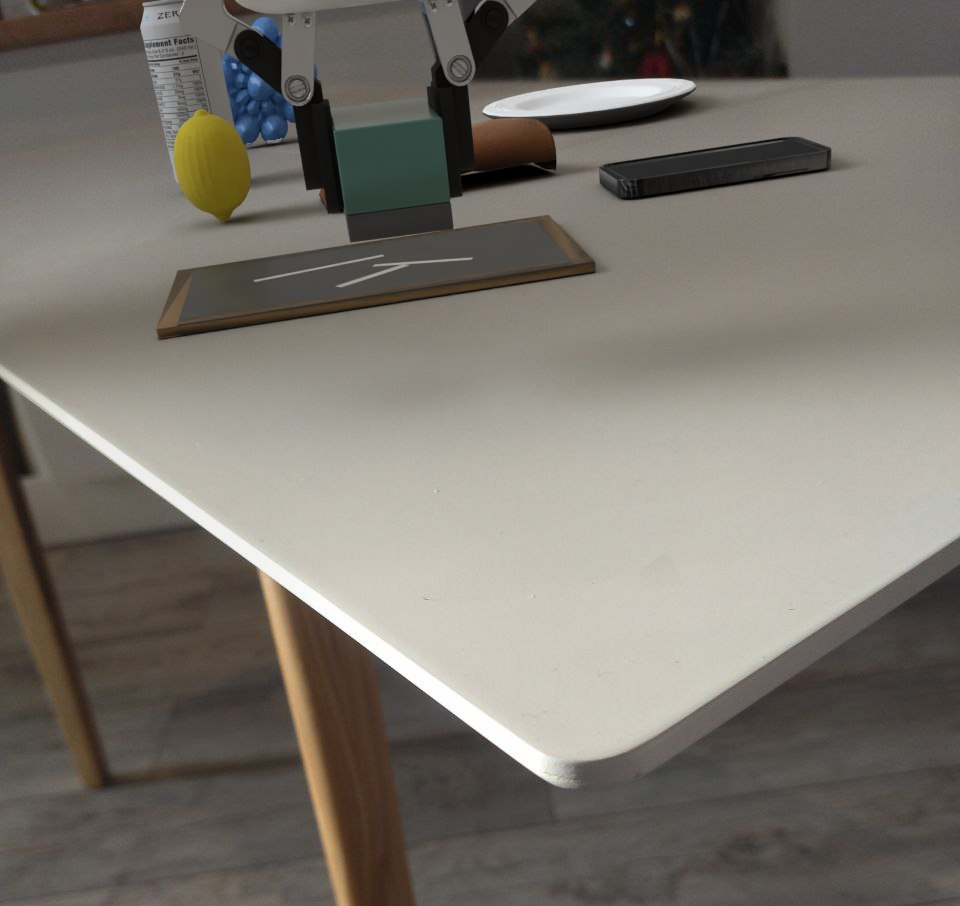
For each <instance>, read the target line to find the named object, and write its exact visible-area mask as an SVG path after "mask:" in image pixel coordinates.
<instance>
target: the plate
mask: <svg viewBox="0 0 960 906" xmlns="http://www.w3.org/2000/svg"><path fill="white" fill-rule="evenodd" d="M696 90H697V85H696V84H695V82H694V81H692V80H687V79H681V78H666V77H665V78H664V77H663V78H662V77H661V78H636V79H634V78H633V79H620V80H609V81H599V82H590V83H581V84H574V85H567V86H560V87H554V88H547V89H541V90H537V91H531V92H526V93H522V94H518V95H513V96H510V97H506V98H503V99H500V100H496V101H493V102H491V103H490V104H487V105H485V106H484V107H483V110H482V115H483V116H485V117H487V118H489V119H490V120H493V119H501V118H532V119H537V120H539V121H541V122H542V123H544V124H545V125H546V126H547V127H548V129H549V130H567V129H568V130H569V129H579V128H580V129H582V128H589V127H597V126H606V125H611V124H617V123H623V122H629V121H632V120H633V121H634V120H638V119H641V118H645V117H648V116H651V115H652V116H653V115H655V114H657V113H660V112H662V111H664V110H665V109H667V108H668V107H669V106H671V105H672V104H674V103H677V102H679V101H682V99H684V98H686V97H688V96H690V95H691V94H693V92H695V91H696Z"/></svg>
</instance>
